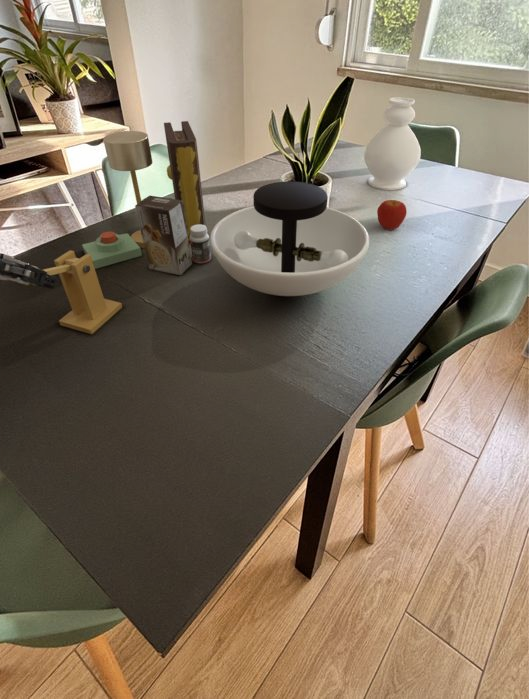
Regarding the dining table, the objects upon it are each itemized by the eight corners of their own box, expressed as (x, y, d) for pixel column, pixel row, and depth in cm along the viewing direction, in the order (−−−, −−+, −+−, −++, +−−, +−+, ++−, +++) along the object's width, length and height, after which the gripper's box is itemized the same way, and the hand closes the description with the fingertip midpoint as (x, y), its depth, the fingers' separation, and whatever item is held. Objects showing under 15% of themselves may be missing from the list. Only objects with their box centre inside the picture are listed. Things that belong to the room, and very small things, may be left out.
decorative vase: (423, 182, 146) (443, 99, 129) (396, 197, 136) (414, 109, 119) (378, 170, 155) (391, 91, 138) (350, 183, 145) (360, 100, 129)
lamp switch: (31, 290, 72) (29, 269, 70) (15, 286, 73) (13, 265, 71) (88, 275, 83) (87, 257, 82) (73, 271, 84) (72, 253, 83)
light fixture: (221, 339, 84) (211, 239, 70) (210, 256, 108) (202, 171, 94) (382, 321, 87) (403, 224, 73) (336, 246, 112) (346, 162, 98)
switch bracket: (91, 334, 85) (70, 274, 76) (60, 325, 87) (36, 266, 78) (122, 307, 92) (106, 249, 83) (92, 299, 94) (73, 242, 85)
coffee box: (193, 263, 106) (184, 199, 95) (180, 276, 101) (169, 211, 91) (161, 256, 108) (149, 194, 98) (147, 269, 104) (133, 205, 93)
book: (211, 241, 115) (202, 141, 98) (180, 245, 113) (164, 144, 97) (200, 208, 131) (190, 118, 114) (172, 211, 129) (158, 120, 113)
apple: (402, 222, 122) (407, 195, 117) (403, 234, 116) (410, 207, 111) (374, 220, 123) (379, 193, 118) (375, 232, 117) (379, 205, 112)
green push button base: (95, 269, 104) (90, 254, 101) (84, 252, 110) (79, 238, 108) (142, 255, 109) (138, 241, 106) (129, 240, 115) (125, 226, 113)
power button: (104, 245, 105) (102, 239, 104) (100, 240, 108) (98, 233, 107) (118, 242, 107) (117, 235, 106) (114, 236, 109) (112, 230, 108)
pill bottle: (188, 260, 107) (184, 229, 101) (200, 252, 110) (197, 221, 104) (202, 265, 105) (199, 234, 99) (215, 257, 108) (212, 226, 102)
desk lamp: (135, 253, 110) (110, 145, 93) (123, 238, 116) (97, 135, 99) (171, 243, 114) (154, 138, 97) (157, 229, 120) (138, 128, 103)
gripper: (-6, 232, 57) (81, 267, 74) (-79, 217, 62) (20, 253, 78) (-21, 286, 57) (70, 309, 74) (-93, 266, 61) (9, 292, 78)
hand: (44, 280), depth 76 cm, fingers closed on lamp switch, 3 cm apart
